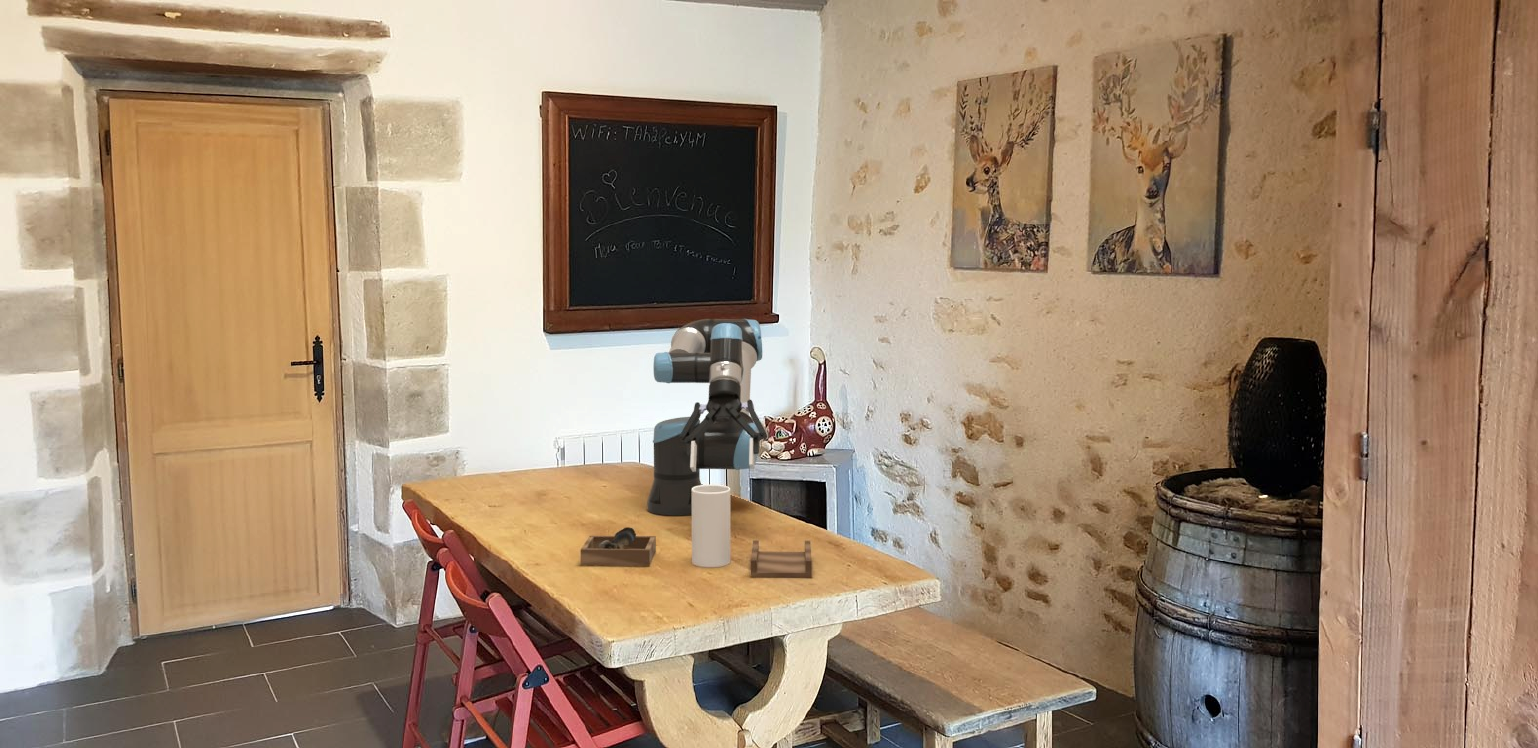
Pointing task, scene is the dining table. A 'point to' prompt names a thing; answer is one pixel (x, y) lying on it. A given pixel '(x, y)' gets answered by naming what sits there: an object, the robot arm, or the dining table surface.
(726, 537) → the cup
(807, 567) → the brown wooden tray
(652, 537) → the figurine frame
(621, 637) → the dining table surface
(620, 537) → the eagle figurine
